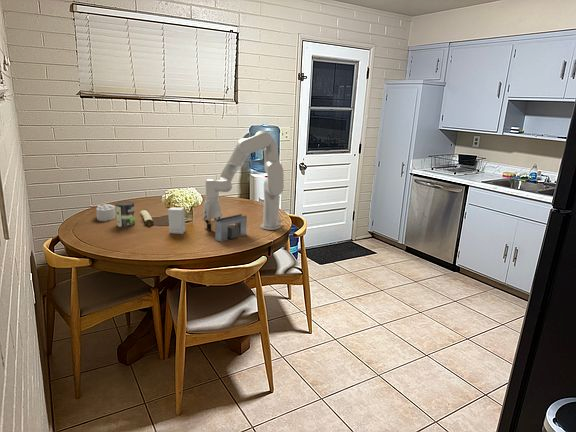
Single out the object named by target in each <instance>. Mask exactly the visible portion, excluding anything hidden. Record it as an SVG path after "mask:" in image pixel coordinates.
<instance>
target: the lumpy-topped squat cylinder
mask: <svg viewBox="0 0 576 432" xmlns="http://www.w3.org/2000/svg"><path fill="white" fill-rule="evenodd" d="M95 211H96V220H97V221H99V222H109V221H111V220H115V218H117V213H116V205H112V204H109V203H107V204H106V203H105V204H101V205H99V204H98V205H97V206H96V208H95ZM108 220H109V221H108Z"/></svg>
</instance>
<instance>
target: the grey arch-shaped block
mask: <svg viewBox="0 0 576 432" xmlns="http://www.w3.org/2000/svg"><path fill="white" fill-rule="evenodd" d="M247 223H248V221H247V214H246V215H243V214H242V213H239V214H235V215H231V216H225V217H221V218H220V219H215V232H214V233H215V234H214V237H215V239H214V240H215V241H217V242H219V241H220V242H219V243H223V242H227V241H228V237H227V235H228V225H235V226H238V227H239V237H243V236H246V235H247V227H248V226H247ZM242 235H243V236H242ZM226 240H227V241H226Z"/></svg>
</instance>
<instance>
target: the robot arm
mask: <svg viewBox="0 0 576 432" xmlns="http://www.w3.org/2000/svg"><path fill="white" fill-rule="evenodd" d="M262 149H263V155H264V164H263V165H264V169H263V170H264V171H265V173H266V174H267V178H266V179H265V180H264V183H263V213H262V214H263V216H262V217H263V218H262V223H261V224H260V228H261V229H263V230H268V231H269V230H270V231H272V230H273V231H275V230H280V229H281V224H280V223H283V222H284V219H282V218H281V219H279V214H280V195H281V194H282V193H283V192H284V189H285V187H284V186H285V185H284V182H285V181H284V175H285V174H284V167H283V164H281V163H280V160H279V148H278V144H277V141H276V140H275V139H274V137H273V136H272V134H271V133H269V132H267V131H265V130H259V131H256V133H255V135H253V136H251V137H248V138H246V137H241V138H239V139H238V140H237V142H236V145H235V146H234V148H233V150H232V153H231V154H230V157H229V159H228V161H227V163H226V164H225V166H224V168H223V169H222V172H221V173H220V175H219V178H218V179H217V178H207V179H206V180H205V201H204V204H203V211H202V212H203V213H202V215H203V217H202V219H201V220H202V221H203V222H204V221H205V222H206V223H207V229H206V230H207V231H211V224H210V222H211V219H214V220H215V219H220V218H223V214H222V212H221V203H220V201H219V200H220V198H221V197H220V196H219V194H220V193H228V192H230V191H232V190H233V183H232V182H233V181H232V180H233V179H234V177H235V175H236V174H237V172H238V171H239V170H240V169H241V168H242V167H243V166H244V164H245V161H246V160H247V159H246V158H247V157H248V155H249V154H252V153H255V152H258V151H260V150H262ZM219 192H220V193H219ZM208 220H209V221H208Z"/></svg>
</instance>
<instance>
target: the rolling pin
mask: <svg viewBox="0 0 576 432" xmlns="http://www.w3.org/2000/svg"><path fill="white" fill-rule="evenodd" d="M140 215H141V217H142V218H143V221H144V224H145V226H148V227H150V226H153V225H154V224H155V223H154V220H153V217H152V216H151V214H150V213H149V211H148V209H142V210H140Z"/></svg>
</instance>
